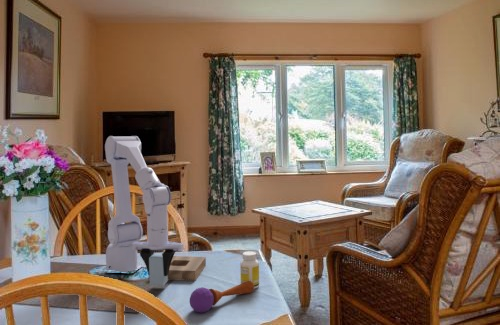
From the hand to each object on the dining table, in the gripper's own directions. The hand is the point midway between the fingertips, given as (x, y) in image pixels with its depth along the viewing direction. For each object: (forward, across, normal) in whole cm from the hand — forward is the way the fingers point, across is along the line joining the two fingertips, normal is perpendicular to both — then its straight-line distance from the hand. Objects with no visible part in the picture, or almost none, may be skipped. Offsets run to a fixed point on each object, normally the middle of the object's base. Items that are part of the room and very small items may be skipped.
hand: (158, 274), depth 114 cm
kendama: (+4, +20, -8) cm, 22 cm away
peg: (+2, 0, 0) cm, 2 cm away
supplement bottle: (+4, +26, +4) cm, 27 cm away
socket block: (+4, +2, +14) cm, 15 cm away
